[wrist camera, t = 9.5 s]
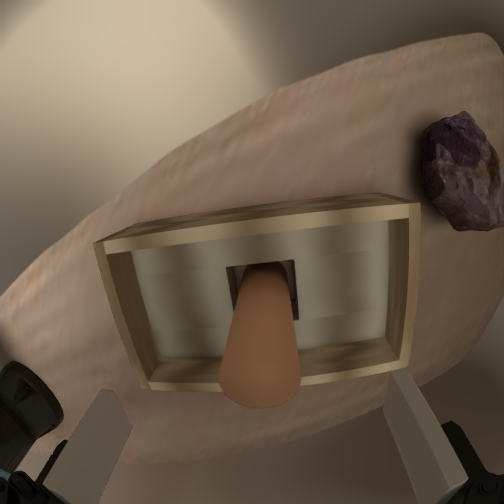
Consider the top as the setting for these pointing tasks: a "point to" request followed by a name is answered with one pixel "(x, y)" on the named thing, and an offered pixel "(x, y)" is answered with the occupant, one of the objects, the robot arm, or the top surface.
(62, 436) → the top surface
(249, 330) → the peg
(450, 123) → the rock
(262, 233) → the box
